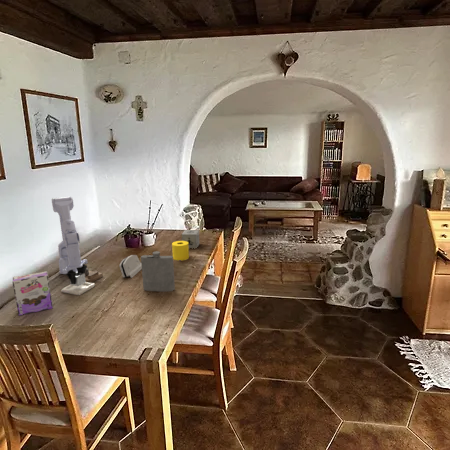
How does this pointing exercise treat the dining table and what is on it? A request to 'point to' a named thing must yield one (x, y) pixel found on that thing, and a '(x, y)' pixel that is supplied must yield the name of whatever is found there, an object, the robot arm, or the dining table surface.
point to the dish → (78, 288)
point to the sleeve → (79, 279)
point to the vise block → (92, 276)
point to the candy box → (32, 293)
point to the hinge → (130, 266)
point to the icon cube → (191, 238)
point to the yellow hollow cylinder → (180, 250)
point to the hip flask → (157, 272)
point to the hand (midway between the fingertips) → (77, 281)
